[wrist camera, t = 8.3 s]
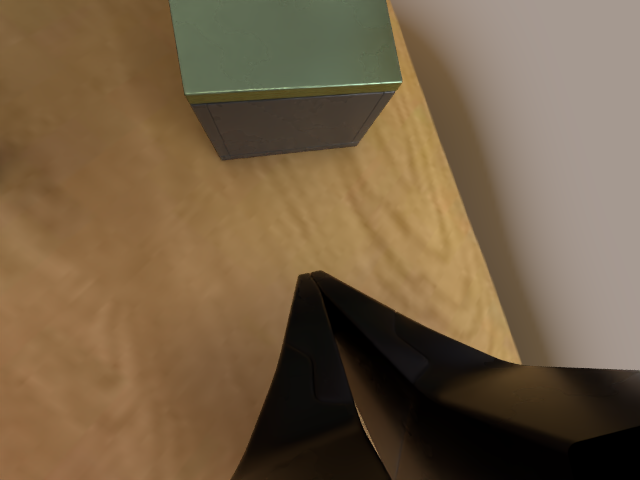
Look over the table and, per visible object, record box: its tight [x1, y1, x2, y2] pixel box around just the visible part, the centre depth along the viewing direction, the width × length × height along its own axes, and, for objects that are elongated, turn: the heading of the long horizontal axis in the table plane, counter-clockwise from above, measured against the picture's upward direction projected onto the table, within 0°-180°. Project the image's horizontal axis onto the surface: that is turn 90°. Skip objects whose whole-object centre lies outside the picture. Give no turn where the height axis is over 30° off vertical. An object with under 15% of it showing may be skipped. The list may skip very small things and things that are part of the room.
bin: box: [190, 91, 395, 160], centre depth 17 cm, size 11×12×7 cm
